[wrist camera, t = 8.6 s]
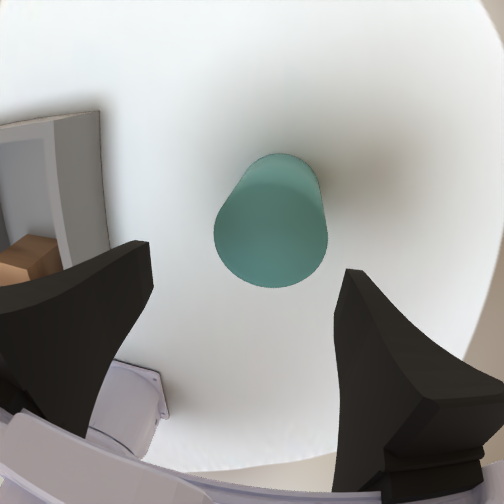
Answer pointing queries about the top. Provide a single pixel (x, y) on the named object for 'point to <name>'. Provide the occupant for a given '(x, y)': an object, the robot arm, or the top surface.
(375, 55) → the top surface
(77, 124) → the tote
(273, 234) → the teal cylinder
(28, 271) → the walnut cube
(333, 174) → the top surface
